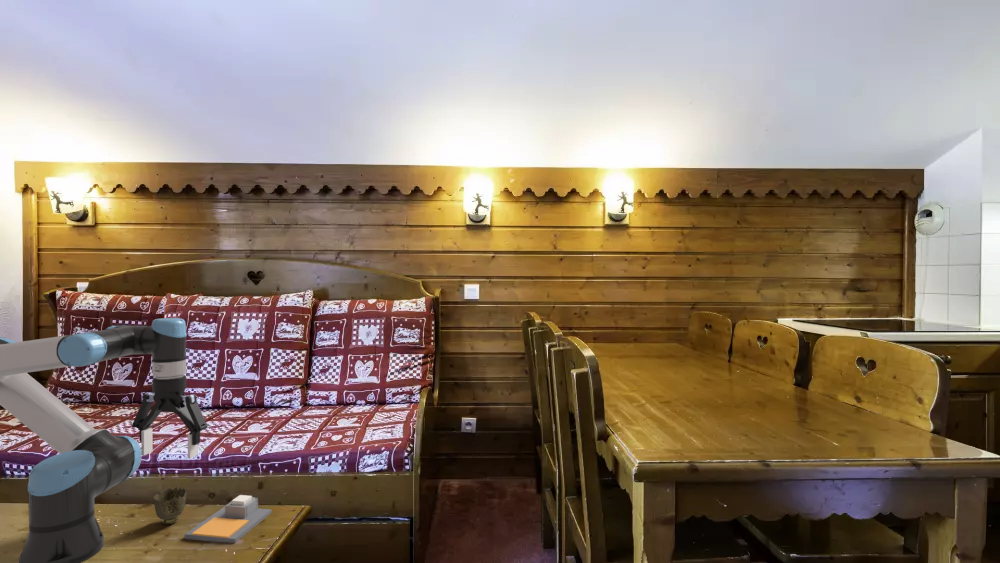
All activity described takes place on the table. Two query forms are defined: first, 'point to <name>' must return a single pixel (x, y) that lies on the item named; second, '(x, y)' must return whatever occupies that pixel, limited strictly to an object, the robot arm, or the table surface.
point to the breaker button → (241, 500)
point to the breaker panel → (229, 523)
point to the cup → (170, 504)
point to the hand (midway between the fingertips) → (169, 455)
